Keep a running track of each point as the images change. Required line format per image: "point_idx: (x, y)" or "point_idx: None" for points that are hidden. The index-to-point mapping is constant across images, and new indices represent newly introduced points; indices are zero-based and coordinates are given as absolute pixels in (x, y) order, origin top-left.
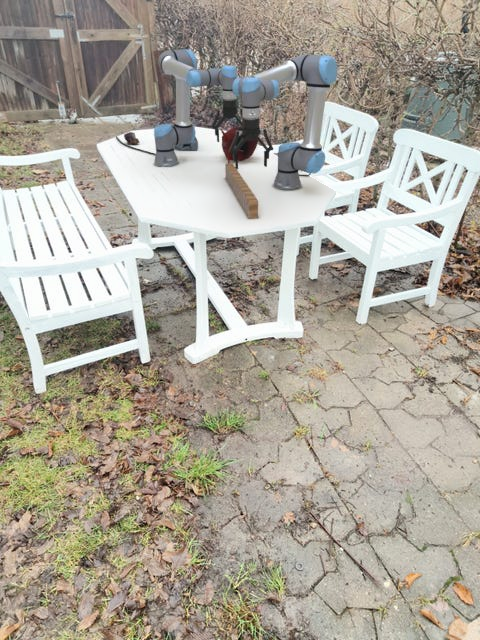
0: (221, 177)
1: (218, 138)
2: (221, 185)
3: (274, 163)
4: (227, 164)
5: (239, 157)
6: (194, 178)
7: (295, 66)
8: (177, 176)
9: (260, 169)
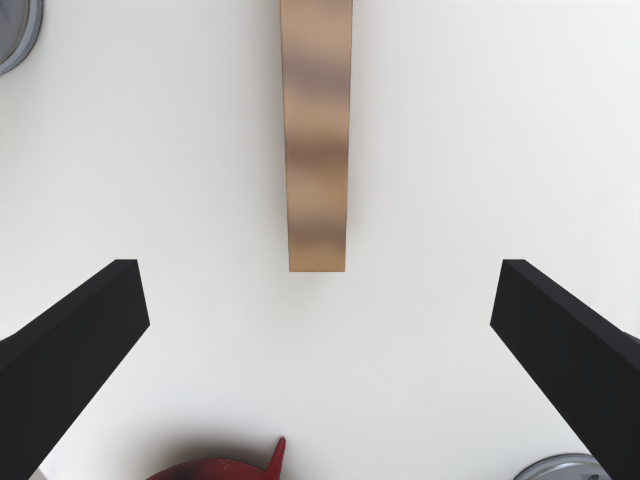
0: (359, 252)
1: (545, 286)
2: (393, 99)
3: None
4: (332, 251)
5: (219, 465)
6: None
7: None
8: None
9: None
